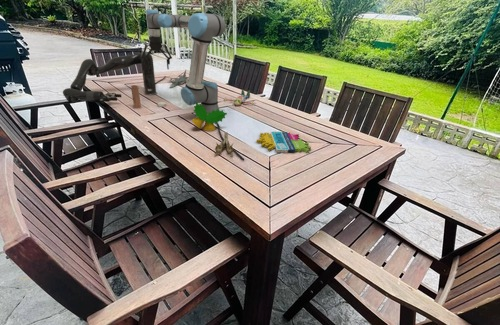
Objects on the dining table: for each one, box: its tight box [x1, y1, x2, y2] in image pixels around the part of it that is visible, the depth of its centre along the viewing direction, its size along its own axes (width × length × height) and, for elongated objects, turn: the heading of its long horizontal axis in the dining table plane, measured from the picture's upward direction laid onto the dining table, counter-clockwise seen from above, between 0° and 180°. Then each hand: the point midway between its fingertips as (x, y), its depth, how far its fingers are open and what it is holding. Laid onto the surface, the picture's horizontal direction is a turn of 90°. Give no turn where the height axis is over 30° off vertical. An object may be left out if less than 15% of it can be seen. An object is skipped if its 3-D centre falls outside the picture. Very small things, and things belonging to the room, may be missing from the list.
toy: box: [223, 89, 257, 106], centre depth 219 cm, size 28×7×30 cm
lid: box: [157, 101, 167, 108], centre depth 198 cm, size 6×6×2 cm
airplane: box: [165, 69, 189, 88], centre depth 260 cm, size 38×31×10 cm
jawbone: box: [214, 131, 234, 156], centre depth 136 cm, size 9×15×10 cm
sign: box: [256, 131, 312, 154], centre depth 152 cm, size 26×2×30 cm
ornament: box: [191, 102, 228, 132], centre depth 162 cm, size 21×8×15 cm, turn 105°
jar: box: [130, 84, 142, 109], centre depth 188 cm, size 5×5×16 cm
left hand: (119, 97), depth 187 cm, fingers open, 8 cm apart
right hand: (158, 69), depth 185 cm, fingers open, 13 cm apart
